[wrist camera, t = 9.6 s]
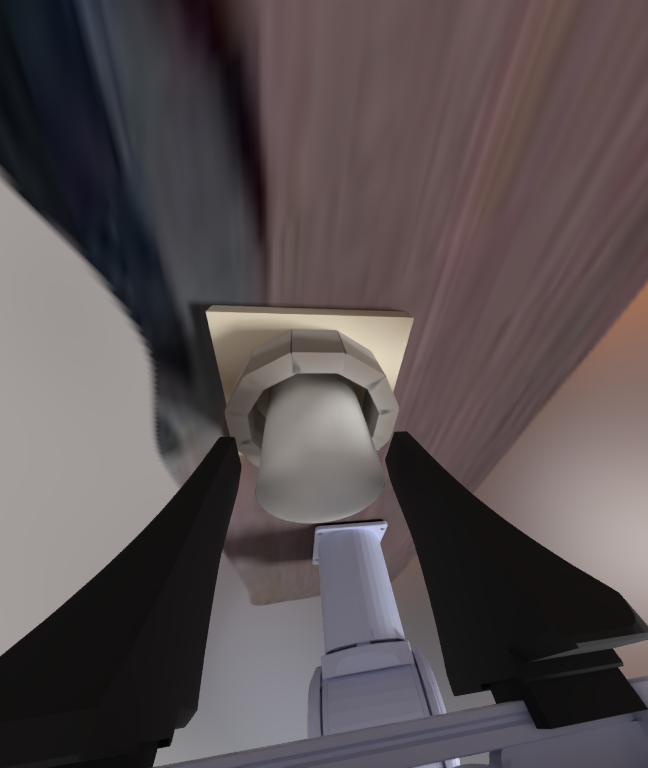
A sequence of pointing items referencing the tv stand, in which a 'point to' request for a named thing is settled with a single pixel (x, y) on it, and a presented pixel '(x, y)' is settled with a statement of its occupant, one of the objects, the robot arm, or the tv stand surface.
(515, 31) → the tv stand surface
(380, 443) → the beige square plate
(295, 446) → the white rounded piece
